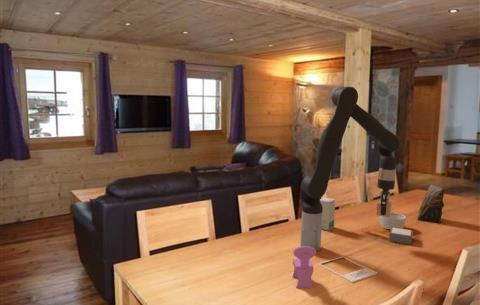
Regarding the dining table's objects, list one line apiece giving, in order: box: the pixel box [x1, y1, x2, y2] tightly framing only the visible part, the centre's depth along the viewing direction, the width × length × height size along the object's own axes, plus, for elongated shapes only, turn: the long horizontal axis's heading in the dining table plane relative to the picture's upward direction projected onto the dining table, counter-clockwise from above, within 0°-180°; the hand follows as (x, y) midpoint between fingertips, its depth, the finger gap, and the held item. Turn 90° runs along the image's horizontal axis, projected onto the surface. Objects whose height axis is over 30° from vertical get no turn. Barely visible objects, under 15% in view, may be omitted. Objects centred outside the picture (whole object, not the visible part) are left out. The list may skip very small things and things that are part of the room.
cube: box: [375, 199, 393, 217], centre depth 174 cm, size 6×6×6 cm
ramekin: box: [379, 211, 407, 229], centre depth 198 cm, size 13×13×7 cm
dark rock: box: [417, 183, 445, 224], centre depth 212 cm, size 13×13×20 cm
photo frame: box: [317, 255, 378, 284], centre depth 148 cm, size 15×1×18 cm
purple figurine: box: [291, 246, 317, 289], centre depth 135 cm, size 8×9×15 cm
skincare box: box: [320, 197, 336, 231], centre depth 196 cm, size 8×7×16 cm
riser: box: [388, 227, 414, 246], centre depth 181 cm, size 10×10×4 cm
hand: (383, 212), depth 174 cm, fingers closed on cube, 6 cm apart
